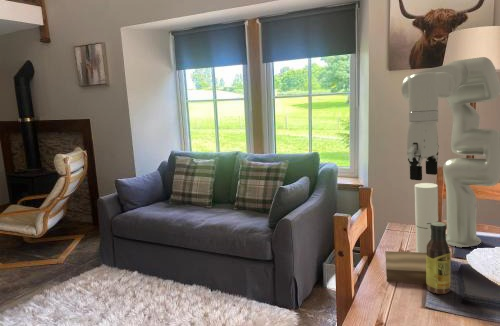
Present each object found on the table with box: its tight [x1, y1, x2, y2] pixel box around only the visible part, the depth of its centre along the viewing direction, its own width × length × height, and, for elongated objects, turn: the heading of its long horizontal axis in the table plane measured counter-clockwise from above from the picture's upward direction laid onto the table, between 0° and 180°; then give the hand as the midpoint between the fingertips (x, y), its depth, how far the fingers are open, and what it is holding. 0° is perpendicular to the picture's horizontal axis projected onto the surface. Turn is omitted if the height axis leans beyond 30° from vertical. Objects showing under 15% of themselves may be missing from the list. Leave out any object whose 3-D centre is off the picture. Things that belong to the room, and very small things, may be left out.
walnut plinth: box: [384, 250, 427, 285], centre depth 119 cm, size 14×14×4 cm
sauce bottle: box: [426, 221, 452, 295], centre depth 106 cm, size 6×6×20 cm
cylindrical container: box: [414, 182, 439, 253], centre depth 129 cm, size 7×7×25 cm
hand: (424, 177), depth 107 cm, fingers open, 9 cm apart
